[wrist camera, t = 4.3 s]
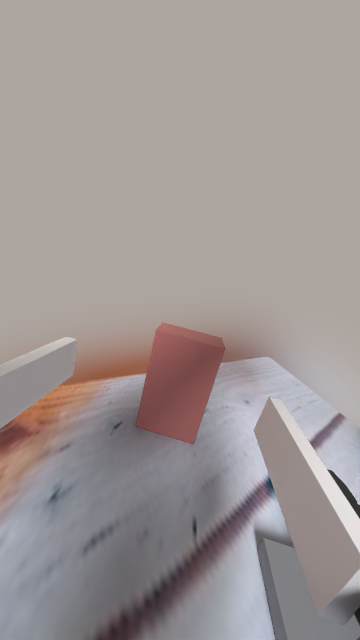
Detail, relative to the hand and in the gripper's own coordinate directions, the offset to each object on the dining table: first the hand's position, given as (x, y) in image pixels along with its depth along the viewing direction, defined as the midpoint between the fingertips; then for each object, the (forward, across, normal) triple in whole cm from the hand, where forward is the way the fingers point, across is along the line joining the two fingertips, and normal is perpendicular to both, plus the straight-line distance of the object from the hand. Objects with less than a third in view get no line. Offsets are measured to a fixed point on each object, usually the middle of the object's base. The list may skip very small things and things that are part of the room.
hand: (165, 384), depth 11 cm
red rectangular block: (+10, +1, -14) cm, 17 cm away
